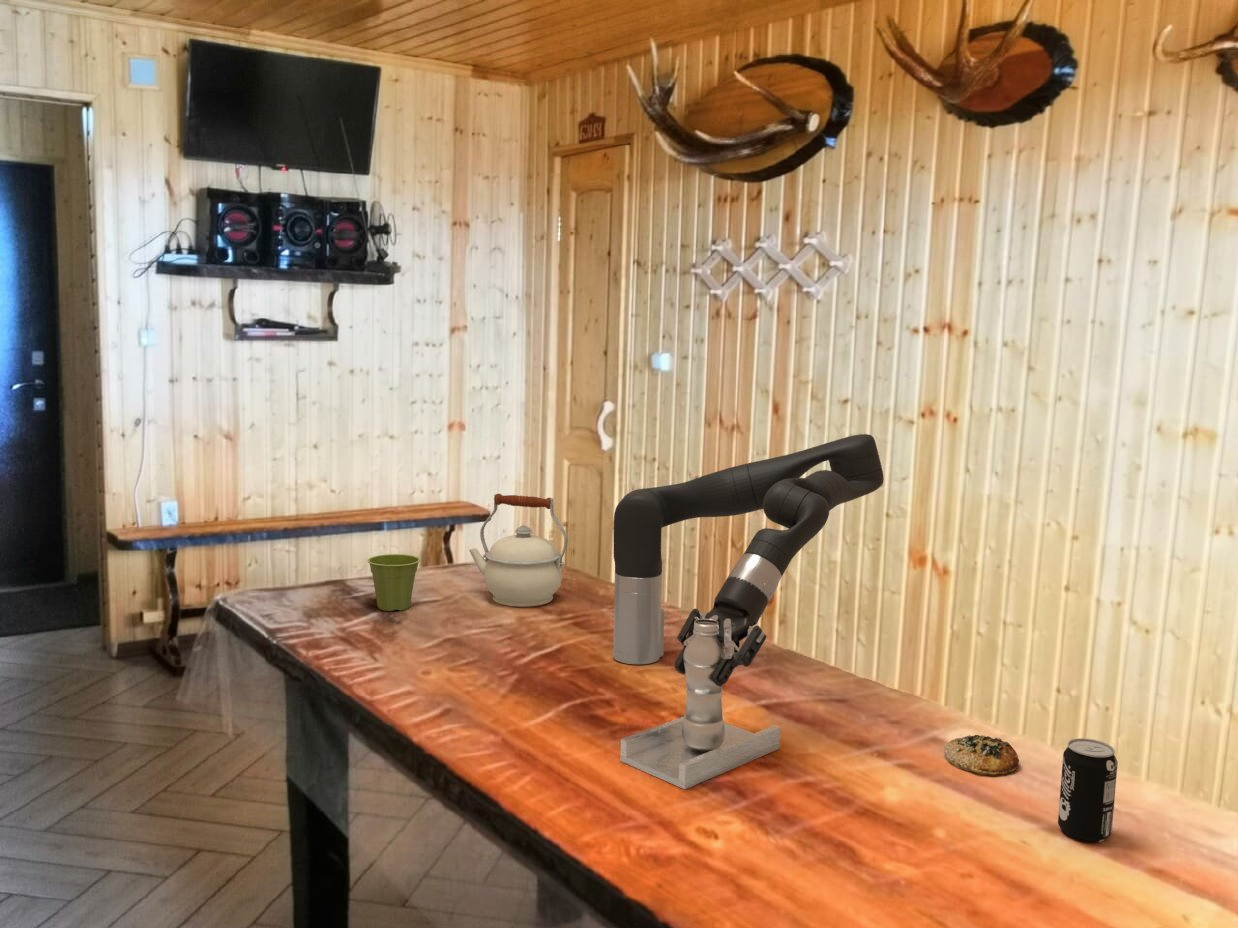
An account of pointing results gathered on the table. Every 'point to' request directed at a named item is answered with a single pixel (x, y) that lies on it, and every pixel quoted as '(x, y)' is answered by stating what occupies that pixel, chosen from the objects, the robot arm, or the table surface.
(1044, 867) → the table surface
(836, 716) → the table surface
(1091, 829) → the beverage can
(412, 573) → the plant pot
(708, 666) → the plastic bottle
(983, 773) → the bread roll
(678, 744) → the aluminium track
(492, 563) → the kettle
